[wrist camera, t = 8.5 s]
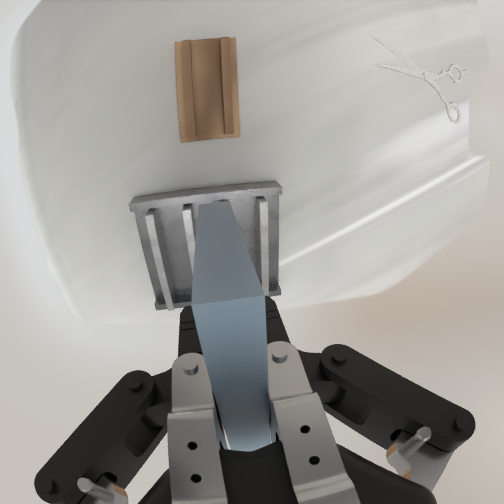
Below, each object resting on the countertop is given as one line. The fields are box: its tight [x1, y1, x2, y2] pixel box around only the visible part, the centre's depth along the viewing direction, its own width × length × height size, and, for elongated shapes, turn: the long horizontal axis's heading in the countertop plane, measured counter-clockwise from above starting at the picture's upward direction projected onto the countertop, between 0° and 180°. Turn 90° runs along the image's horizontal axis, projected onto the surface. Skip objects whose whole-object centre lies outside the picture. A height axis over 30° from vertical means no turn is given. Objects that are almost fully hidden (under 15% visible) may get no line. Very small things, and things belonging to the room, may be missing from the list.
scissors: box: [374, 38, 468, 123], centre depth 26 cm, size 11×1×20 cm
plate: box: [191, 201, 271, 451], centre depth 12 cm, size 2×9×9 cm, turn 3°
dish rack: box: [129, 181, 282, 310], centre depth 31 cm, size 16×14×4 cm
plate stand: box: [175, 37, 240, 143], centre depth 23 cm, size 6×11×3 cm, turn 2°
